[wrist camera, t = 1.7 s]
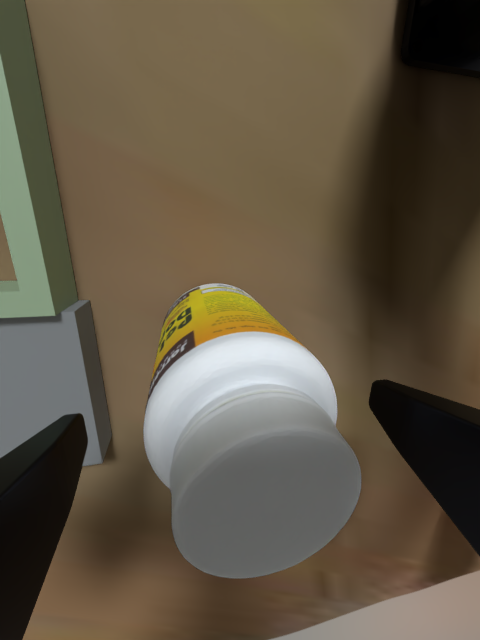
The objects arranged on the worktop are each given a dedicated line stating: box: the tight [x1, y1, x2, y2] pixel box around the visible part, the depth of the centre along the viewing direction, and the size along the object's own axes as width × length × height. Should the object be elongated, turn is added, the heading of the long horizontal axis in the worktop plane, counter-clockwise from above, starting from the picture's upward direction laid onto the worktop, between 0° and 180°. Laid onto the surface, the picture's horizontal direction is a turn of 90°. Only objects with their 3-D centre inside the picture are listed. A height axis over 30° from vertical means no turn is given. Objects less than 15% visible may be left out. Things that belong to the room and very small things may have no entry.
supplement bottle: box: [143, 284, 361, 578], centre depth 10 cm, size 6×6×10 cm
